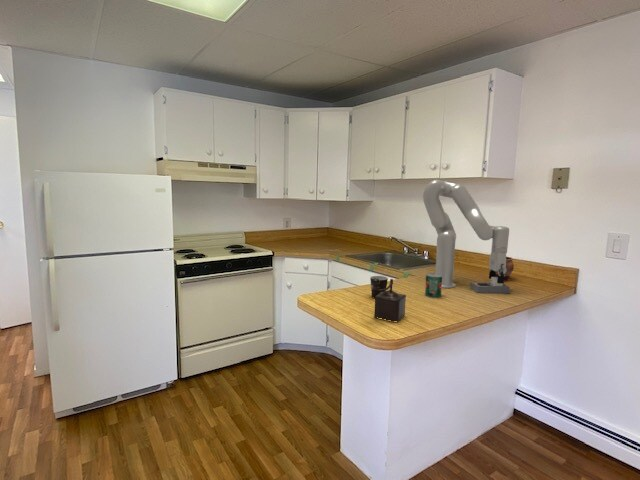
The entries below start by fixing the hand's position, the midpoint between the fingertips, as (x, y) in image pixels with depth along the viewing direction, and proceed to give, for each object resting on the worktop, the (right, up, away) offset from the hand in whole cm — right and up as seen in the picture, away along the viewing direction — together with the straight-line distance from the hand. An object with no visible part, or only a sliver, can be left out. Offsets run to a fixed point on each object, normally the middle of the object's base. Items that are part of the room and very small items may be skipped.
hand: (496, 280), depth 194 cm
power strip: (-3, -5, +4) cm, 7 cm away
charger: (0, -5, +1) cm, 5 cm away
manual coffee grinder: (-67, -11, -43) cm, 80 cm away
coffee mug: (-65, -7, -12) cm, 66 cm away
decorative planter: (+16, -2, +26) cm, 31 cm away
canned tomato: (-37, -7, -9) cm, 39 cm away
